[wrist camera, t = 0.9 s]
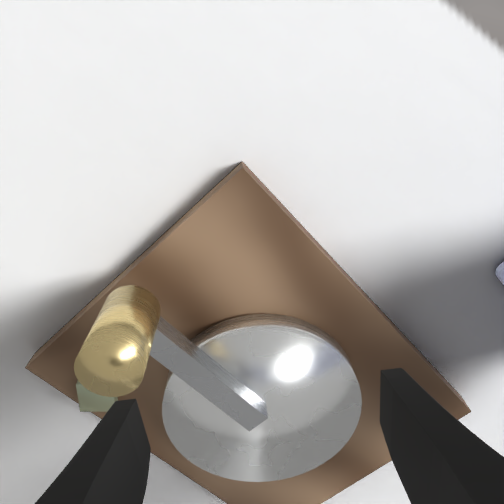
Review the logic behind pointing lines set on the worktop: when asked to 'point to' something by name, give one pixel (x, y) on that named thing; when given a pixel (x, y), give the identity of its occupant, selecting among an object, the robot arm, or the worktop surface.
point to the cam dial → (230, 386)
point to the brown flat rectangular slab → (247, 303)
